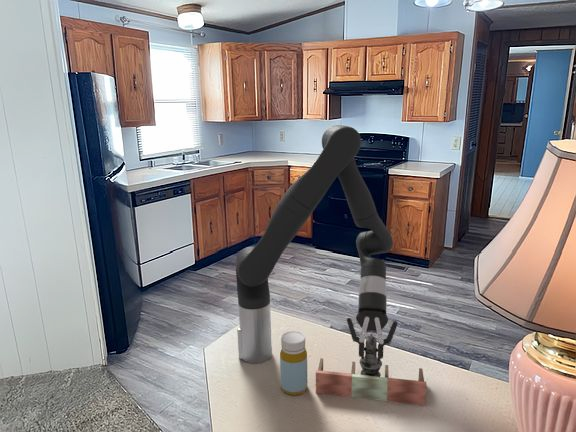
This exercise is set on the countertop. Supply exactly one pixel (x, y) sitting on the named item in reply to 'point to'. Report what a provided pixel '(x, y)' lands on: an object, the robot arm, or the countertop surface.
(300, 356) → the bottle
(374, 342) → the grey chess piece
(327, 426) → the countertop surface
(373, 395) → the bay rack
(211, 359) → the countertop surface
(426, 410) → the countertop surface
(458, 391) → the countertop surface
